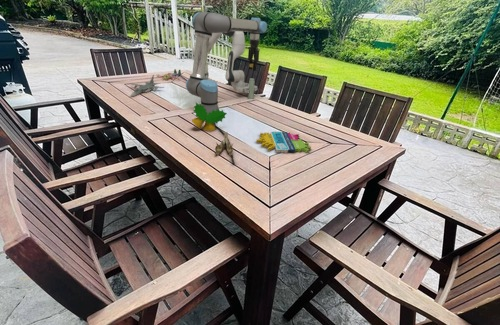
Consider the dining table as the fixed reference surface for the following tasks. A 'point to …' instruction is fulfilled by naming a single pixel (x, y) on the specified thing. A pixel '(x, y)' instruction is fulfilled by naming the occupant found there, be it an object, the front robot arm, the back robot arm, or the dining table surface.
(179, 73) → the toy
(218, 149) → the jawbone
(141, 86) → the airplane
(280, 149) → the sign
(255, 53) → the front robot arm
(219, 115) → the ornament
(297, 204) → the dining table surface
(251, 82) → the jar
